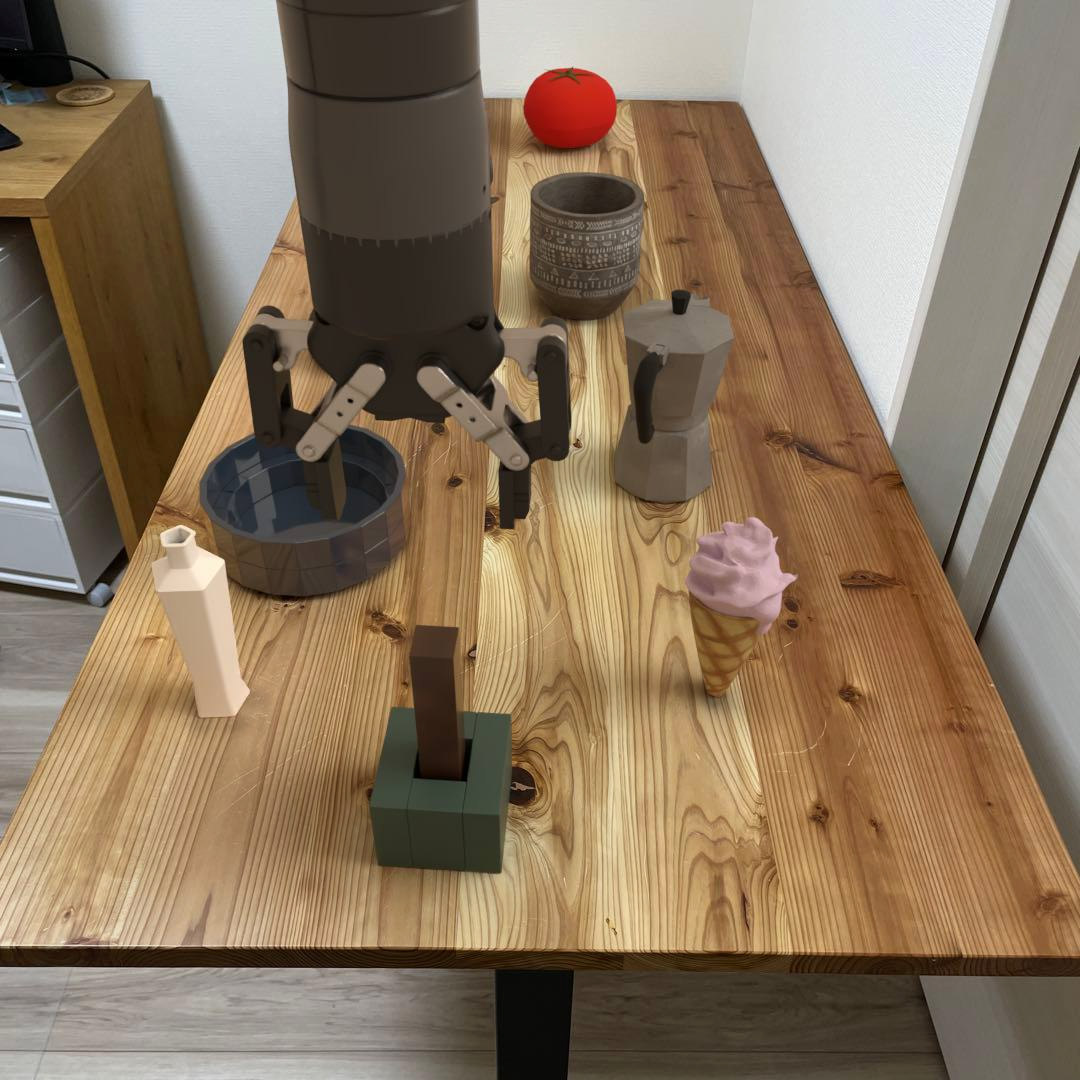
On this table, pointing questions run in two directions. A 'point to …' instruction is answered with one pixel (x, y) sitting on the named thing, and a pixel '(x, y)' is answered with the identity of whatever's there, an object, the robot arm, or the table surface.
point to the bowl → (304, 516)
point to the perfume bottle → (201, 621)
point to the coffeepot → (671, 396)
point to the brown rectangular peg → (438, 702)
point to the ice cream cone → (733, 597)
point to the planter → (585, 242)
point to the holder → (443, 799)
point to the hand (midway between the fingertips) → (422, 514)
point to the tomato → (570, 108)
